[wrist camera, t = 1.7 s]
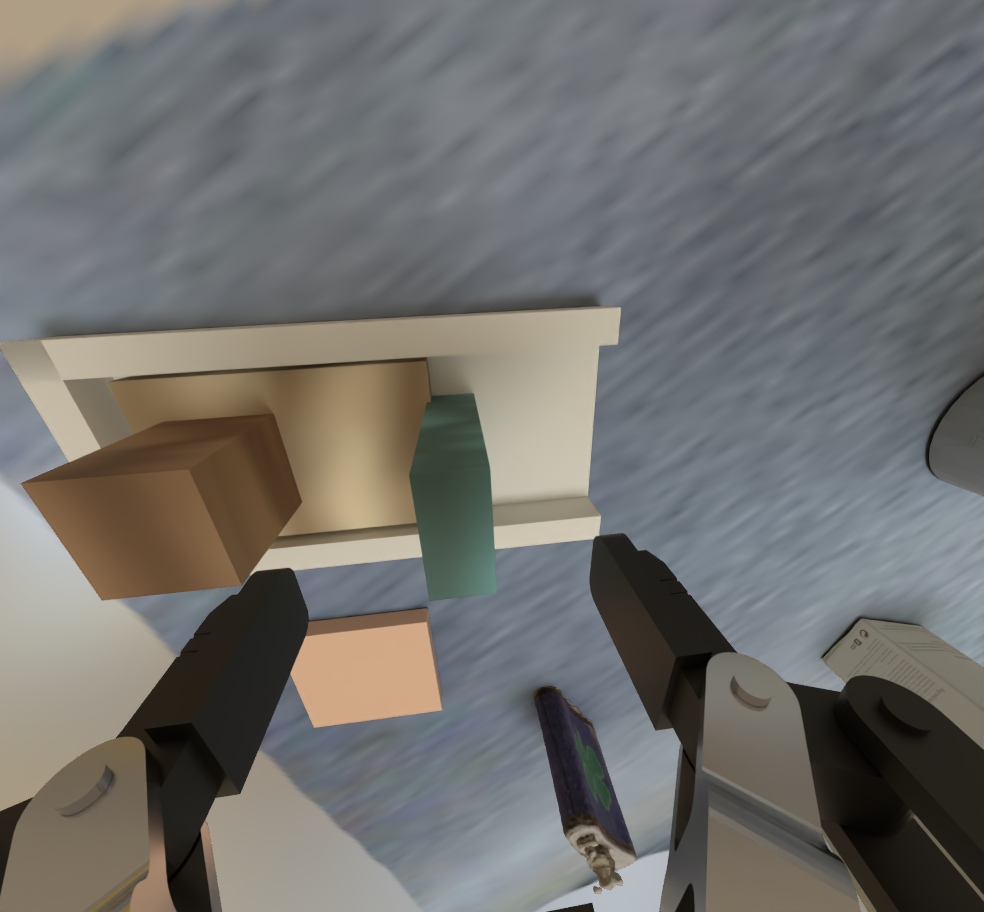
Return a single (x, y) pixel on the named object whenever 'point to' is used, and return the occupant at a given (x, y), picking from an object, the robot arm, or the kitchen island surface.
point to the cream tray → (441, 338)
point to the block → (172, 505)
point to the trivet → (368, 668)
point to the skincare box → (915, 668)
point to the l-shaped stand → (357, 452)
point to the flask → (584, 788)
